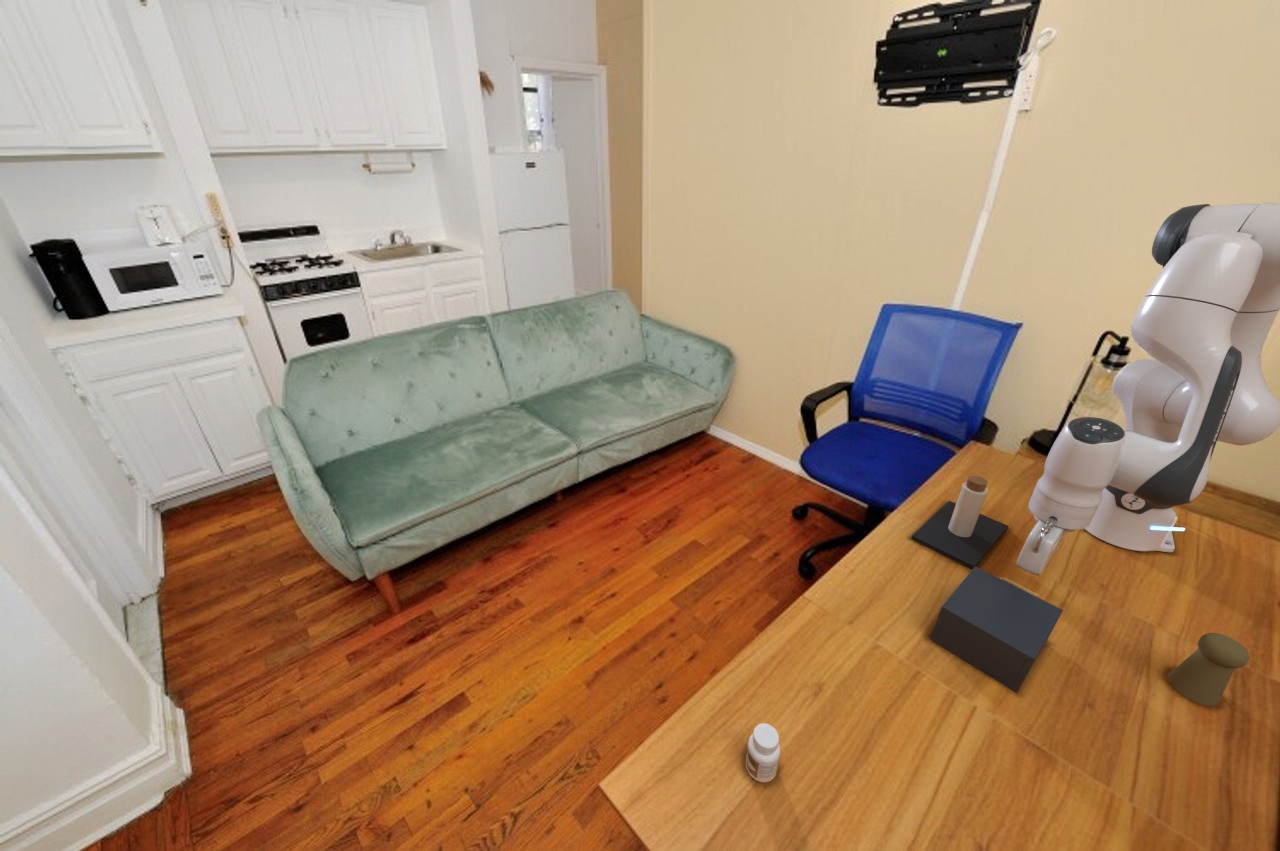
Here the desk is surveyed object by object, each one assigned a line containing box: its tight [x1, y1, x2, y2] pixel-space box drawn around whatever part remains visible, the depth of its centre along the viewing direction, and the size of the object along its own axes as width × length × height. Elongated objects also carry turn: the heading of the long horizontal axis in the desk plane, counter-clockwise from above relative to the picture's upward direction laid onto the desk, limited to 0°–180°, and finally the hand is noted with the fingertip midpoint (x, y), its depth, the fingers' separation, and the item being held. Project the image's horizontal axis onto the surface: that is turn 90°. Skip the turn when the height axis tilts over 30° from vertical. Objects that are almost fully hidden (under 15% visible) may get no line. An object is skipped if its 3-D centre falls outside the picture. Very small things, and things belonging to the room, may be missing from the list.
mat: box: [910, 500, 1009, 570], centre depth 116 cm, size 20×13×1 cm, turn 130°
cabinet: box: [929, 566, 1064, 694], centre depth 89 cm, size 15×14×8 cm
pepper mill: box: [948, 475, 989, 537], centre depth 112 cm, size 5×5×14 cm
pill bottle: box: [745, 722, 781, 783], centre depth 71 cm, size 4×4×8 cm
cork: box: [1167, 632, 1250, 707], centre depth 79 cm, size 6×6×11 cm
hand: (1035, 564), depth 95 cm, fingers closed
